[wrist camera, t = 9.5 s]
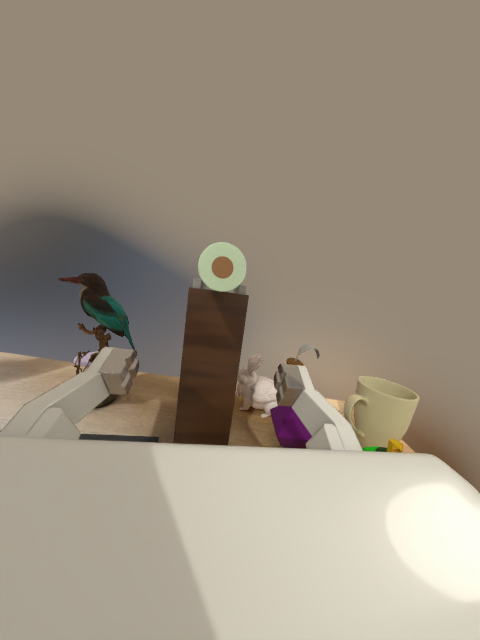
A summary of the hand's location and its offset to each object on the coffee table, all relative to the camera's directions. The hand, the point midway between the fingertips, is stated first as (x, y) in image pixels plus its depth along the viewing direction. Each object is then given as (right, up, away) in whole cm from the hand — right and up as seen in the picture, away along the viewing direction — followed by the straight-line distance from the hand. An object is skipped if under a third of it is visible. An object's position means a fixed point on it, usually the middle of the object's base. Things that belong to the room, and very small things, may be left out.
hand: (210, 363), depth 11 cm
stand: (-5, -18, +22) cm, 29 cm away
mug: (+26, -22, +25) cm, 42 cm away
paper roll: (-1, +9, +16) cm, 18 cm away
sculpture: (-29, -14, +28) cm, 43 cm away
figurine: (+7, -18, +33) cm, 38 cm away
